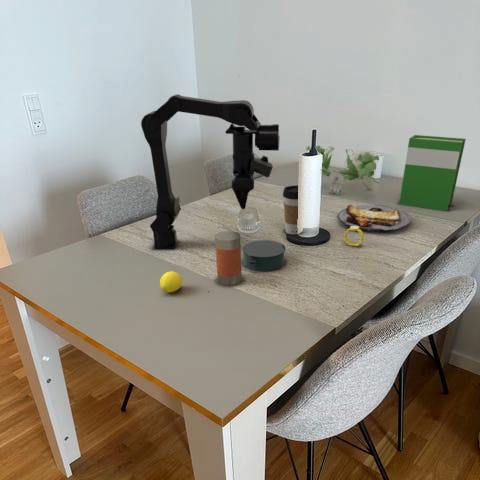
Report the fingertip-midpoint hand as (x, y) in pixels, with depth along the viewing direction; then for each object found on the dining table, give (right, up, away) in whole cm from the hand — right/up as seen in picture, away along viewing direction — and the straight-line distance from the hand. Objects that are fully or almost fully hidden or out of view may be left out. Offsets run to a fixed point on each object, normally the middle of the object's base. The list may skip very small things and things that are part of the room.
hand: (243, 203), depth 140 cm
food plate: (+46, -1, +24) cm, 52 cm away
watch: (+35, -12, +7) cm, 37 cm away
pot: (+6, -18, -3) cm, 19 cm away
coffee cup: (+17, -5, +18) cm, 26 cm away
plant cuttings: (+42, +19, +56) cm, 73 cm away
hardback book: (+70, +9, +38) cm, 80 cm away
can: (-4, -24, -12) cm, 27 cm away
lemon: (-19, -27, -16) cm, 37 cm away
